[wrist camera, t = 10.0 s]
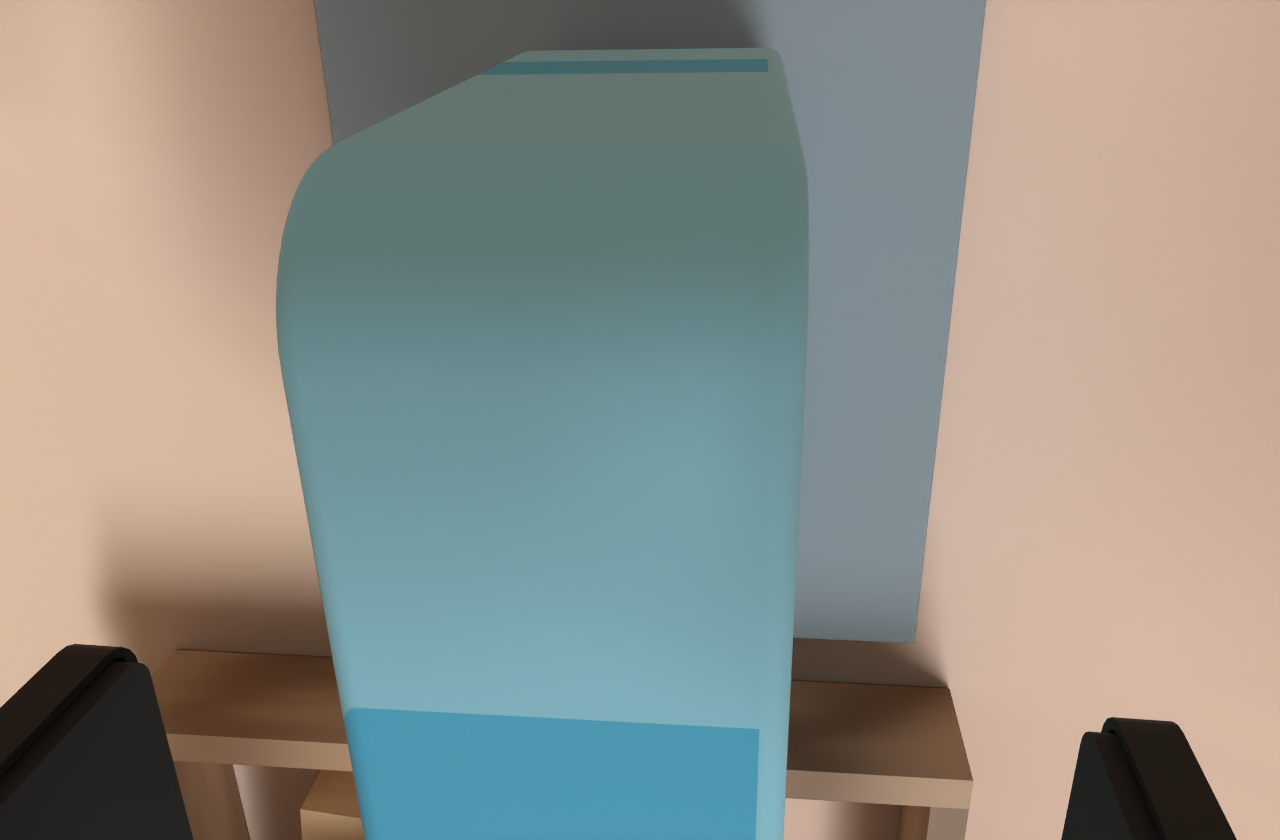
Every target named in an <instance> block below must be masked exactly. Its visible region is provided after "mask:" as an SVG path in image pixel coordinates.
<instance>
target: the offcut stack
mask: <svg viewBox="0 0 1280 840" xmlns="http://www.w3.org/2000/svg"><path fill="white" fill-rule="evenodd" d="M300 816H301V833H302V840H365V839H364V833H363V827H362V822H361V816H360V811H359V805H358V799H357V794H356V788H355V782H354V777H353V771H337V770H320V772H319V774H318V776H317V778H316V780H315V781H314V783H313V785H312V787H311V789H310V791H309V793H308V795H307V797H306V799H305V801H304V803H303V805H302V807H301V808H300Z"/></svg>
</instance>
